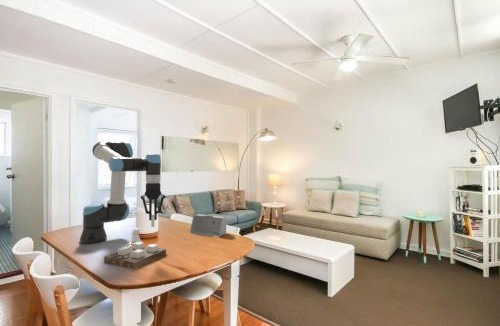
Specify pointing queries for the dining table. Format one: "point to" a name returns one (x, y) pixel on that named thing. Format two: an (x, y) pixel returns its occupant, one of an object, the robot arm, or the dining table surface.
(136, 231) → the seated beast figurine
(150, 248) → the button
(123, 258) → the board
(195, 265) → the dining table surface
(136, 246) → the button
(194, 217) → the grey rectangular block
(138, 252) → the button
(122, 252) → the button
